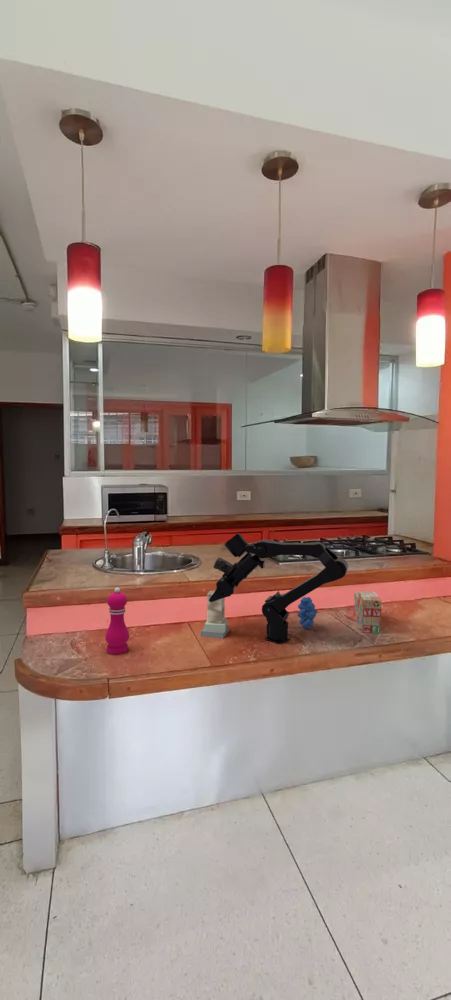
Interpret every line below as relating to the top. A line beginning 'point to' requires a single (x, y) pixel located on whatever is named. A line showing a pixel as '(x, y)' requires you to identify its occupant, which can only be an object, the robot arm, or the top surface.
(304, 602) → the grapes
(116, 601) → the pepper mill
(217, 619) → the ash pillar
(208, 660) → the top surface
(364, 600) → the stack of blocks
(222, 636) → the tower base block
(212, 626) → the tower top block
